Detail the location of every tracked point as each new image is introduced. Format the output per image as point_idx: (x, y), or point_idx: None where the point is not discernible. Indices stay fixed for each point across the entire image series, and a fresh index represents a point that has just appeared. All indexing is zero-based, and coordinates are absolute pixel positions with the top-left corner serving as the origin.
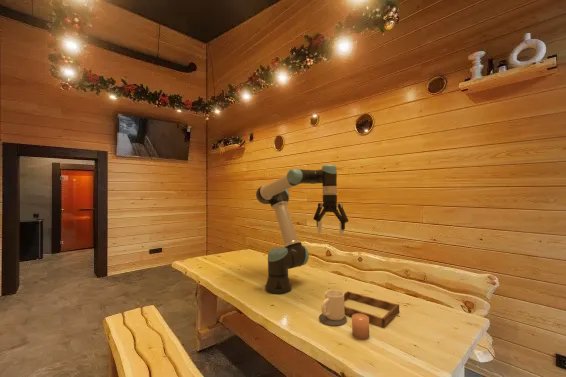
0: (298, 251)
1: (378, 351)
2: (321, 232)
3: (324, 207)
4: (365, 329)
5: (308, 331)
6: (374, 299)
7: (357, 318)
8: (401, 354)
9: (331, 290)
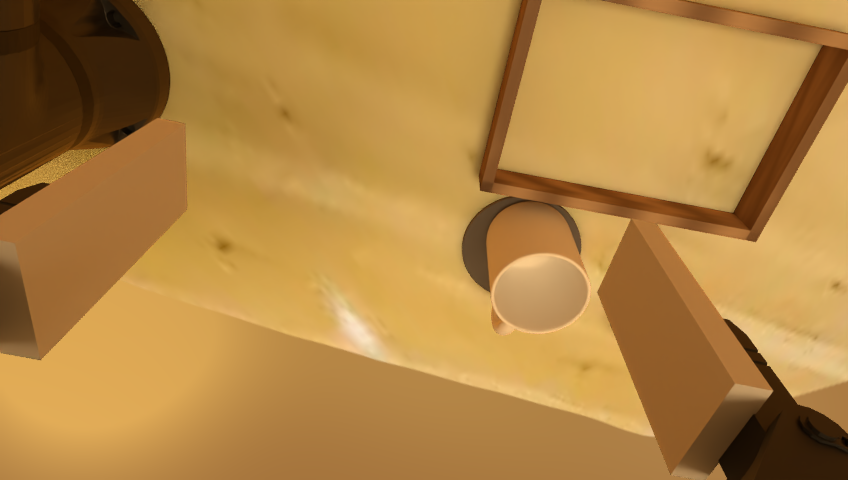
0: None
1: None
2: (179, 137)
3: None
4: None
5: (468, 350)
6: (722, 24)
7: None
8: (776, 345)
9: (511, 264)
